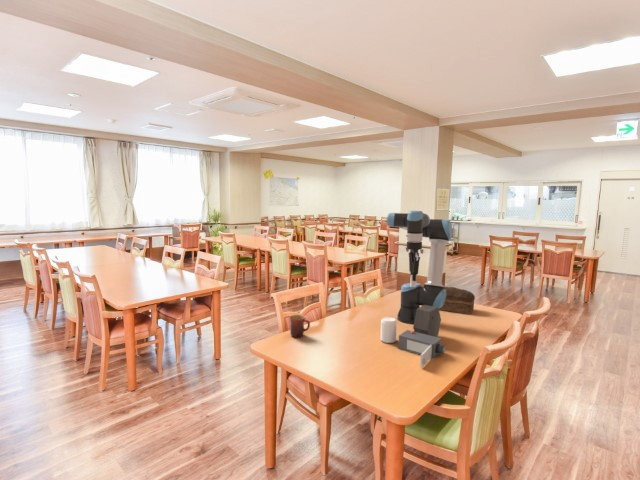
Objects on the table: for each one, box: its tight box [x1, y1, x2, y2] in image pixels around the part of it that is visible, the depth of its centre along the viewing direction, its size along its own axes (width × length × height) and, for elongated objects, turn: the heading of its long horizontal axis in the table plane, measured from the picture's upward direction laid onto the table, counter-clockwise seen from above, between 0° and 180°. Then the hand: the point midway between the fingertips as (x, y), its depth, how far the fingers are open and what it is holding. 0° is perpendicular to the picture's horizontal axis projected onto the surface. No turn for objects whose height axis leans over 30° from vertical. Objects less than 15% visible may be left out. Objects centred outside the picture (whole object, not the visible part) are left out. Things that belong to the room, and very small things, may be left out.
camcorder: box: [397, 329, 446, 359], centre depth 178 cm, size 21×10×8 cm, turn 52°
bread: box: [438, 286, 476, 315], centre depth 250 cm, size 15×32×16 cm, turn 61°
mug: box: [288, 314, 311, 338], centre depth 197 cm, size 12×9×10 cm
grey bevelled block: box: [412, 305, 442, 338], centre depth 194 cm, size 17×8×21 cm
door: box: [419, 344, 433, 369], centre depth 164 cm, size 14×2×7 cm, turn 145°
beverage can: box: [380, 316, 397, 344], centre depth 191 cm, size 8×8×12 cm
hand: (413, 286), depth 185 cm, fingers closed
